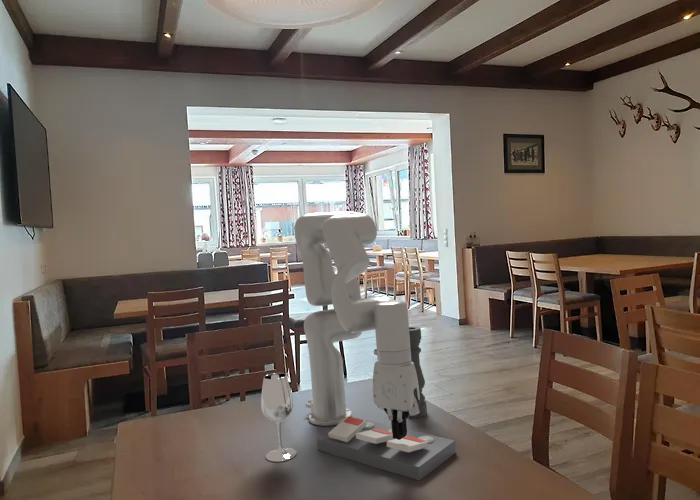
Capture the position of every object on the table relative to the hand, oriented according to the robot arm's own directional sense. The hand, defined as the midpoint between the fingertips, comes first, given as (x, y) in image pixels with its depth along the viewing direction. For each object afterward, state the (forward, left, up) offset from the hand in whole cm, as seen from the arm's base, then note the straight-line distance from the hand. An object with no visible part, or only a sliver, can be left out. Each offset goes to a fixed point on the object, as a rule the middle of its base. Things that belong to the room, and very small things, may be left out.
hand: (399, 437), depth 118 cm
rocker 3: (0, +3, -3) cm, 4 cm away
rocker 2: (-9, +3, -3) cm, 10 cm away
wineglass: (-30, -9, -8) cm, 32 cm away
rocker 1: (-18, +3, -3) cm, 19 cm away
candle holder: (-16, +31, -8) cm, 36 cm away
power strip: (-12, +6, -8) cm, 15 cm away
